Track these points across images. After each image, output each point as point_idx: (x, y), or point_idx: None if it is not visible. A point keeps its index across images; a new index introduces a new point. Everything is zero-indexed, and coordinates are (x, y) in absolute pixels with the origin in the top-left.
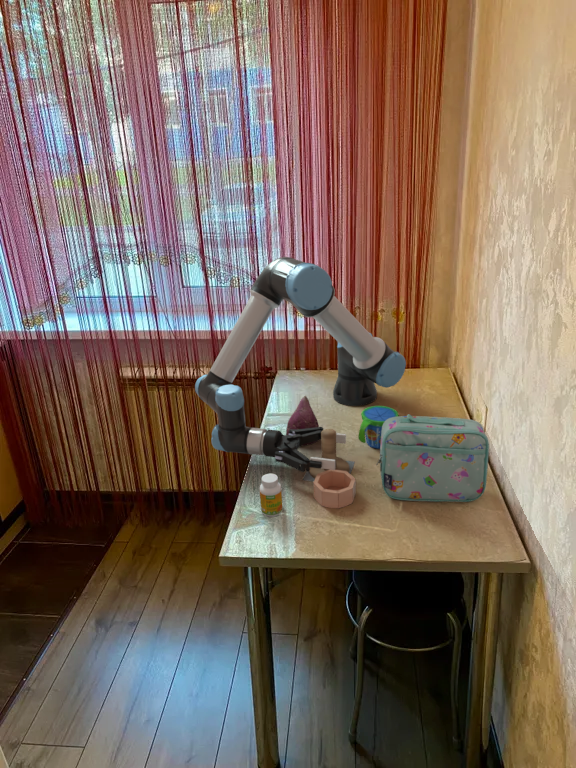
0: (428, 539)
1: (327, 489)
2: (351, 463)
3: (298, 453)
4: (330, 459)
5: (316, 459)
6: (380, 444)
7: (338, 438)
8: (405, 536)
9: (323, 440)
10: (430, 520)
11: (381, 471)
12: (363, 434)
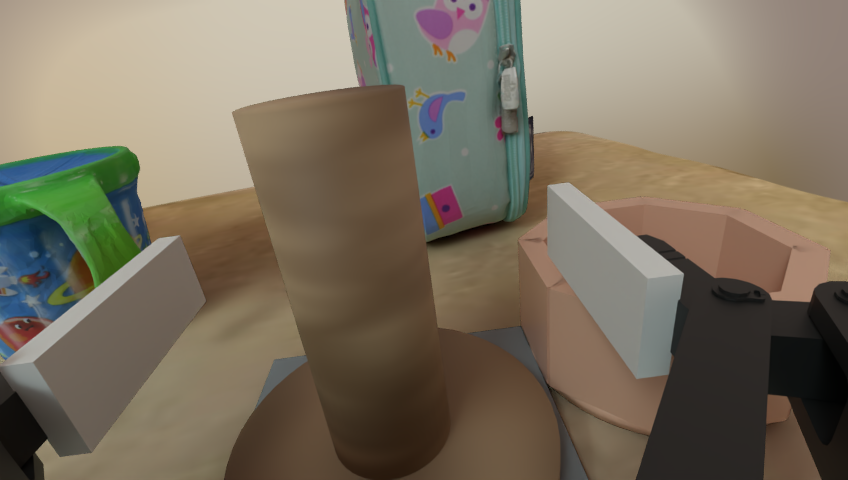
0: (622, 170)
1: (776, 238)
2: (294, 366)
3: (720, 439)
4: (564, 196)
5: (639, 246)
6: (410, 72)
7: (165, 295)
8: (653, 185)
9: (403, 163)
10: (550, 179)
11: (516, 129)
12: (134, 248)
